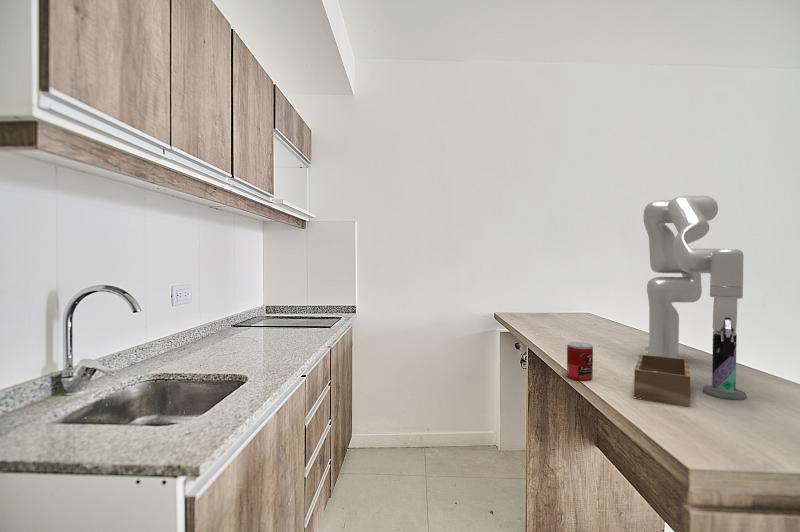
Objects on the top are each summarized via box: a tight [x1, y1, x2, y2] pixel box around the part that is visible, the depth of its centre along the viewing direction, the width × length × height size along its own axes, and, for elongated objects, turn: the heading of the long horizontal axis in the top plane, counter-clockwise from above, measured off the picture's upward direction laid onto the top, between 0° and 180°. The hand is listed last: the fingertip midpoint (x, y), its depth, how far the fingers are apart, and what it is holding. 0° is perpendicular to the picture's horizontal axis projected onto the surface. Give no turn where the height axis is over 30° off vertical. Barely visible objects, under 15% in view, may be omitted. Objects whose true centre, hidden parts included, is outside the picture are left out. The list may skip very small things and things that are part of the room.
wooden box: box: [633, 354, 691, 408], centre depth 128 cm, size 22×13×8 cm, turn 148°
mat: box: [702, 384, 747, 401], centre depth 125 cm, size 10×10×1 cm
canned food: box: [566, 341, 594, 382], centre depth 142 cm, size 8×8×11 cm
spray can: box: [711, 322, 738, 393], centre depth 125 cm, size 6×6×20 cm
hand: (724, 352), depth 125 cm, fingers open, 8 cm apart
